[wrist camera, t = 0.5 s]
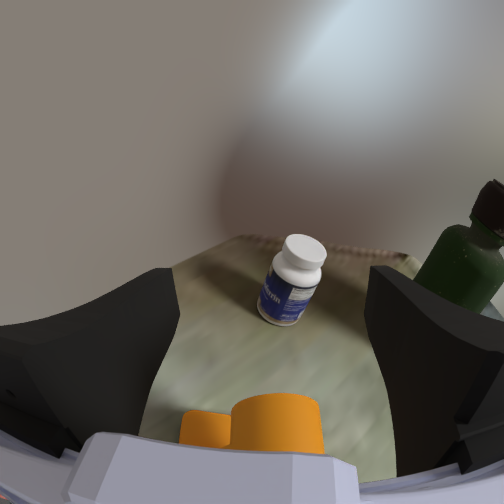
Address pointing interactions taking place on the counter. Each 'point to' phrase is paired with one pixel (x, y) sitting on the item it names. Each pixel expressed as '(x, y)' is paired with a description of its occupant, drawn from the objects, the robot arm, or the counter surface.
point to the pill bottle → (291, 280)
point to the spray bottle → (469, 255)
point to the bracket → (258, 425)
